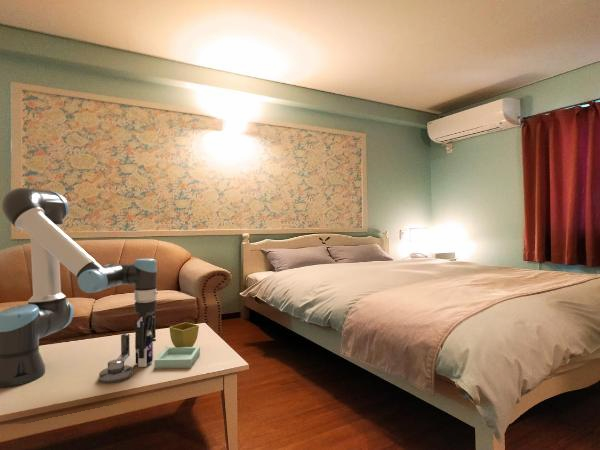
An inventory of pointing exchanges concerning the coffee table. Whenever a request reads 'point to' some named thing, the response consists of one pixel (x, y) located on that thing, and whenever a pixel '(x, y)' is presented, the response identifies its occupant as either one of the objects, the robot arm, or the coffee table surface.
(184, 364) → the tray
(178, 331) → the flower pot
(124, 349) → the crank
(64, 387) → the coffee table surface
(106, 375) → the crank base
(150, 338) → the beverage can
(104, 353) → the coffee table surface
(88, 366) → the coffee table surface
